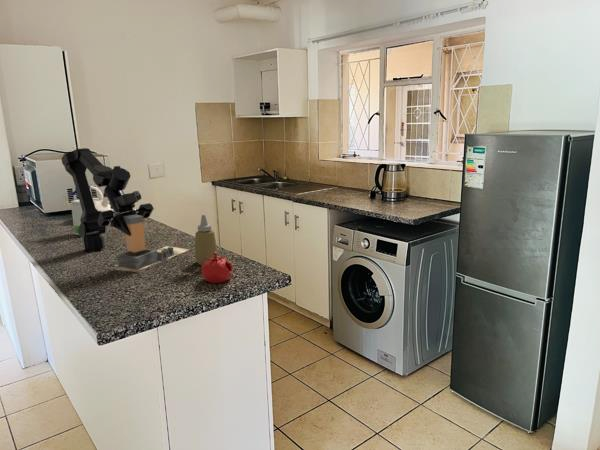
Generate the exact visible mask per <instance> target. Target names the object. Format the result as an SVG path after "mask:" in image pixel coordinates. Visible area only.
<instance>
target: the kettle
mask: <svg viewBox="0 0 600 450" xmlns="http://www.w3.org/2000/svg"><path fill="white" fill-rule="evenodd" d="M89 188H90V189H93V190H94V191H96V192H97V193H98V197H92V198H93V200H95V208H96V209H97V210H98V211H107V210H113V212H115V211H114V209H111V208H110V206H111V204H110V202H109V200H108V198H107V197H104V195H103V194H104V193H102V190H100V188H99V187H98V186H97V187H96V186H94V185H89ZM76 194H77V191H76V189H75V190H74V191H72V193H70V195H71V196H76Z"/></svg>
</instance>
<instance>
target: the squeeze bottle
mask: <svg viewBox="0 0 600 450" xmlns="http://www.w3.org/2000/svg"><path fill="white" fill-rule="evenodd" d="M194 237H195V238H194V239H195V240H194V258H195V260H196V262H197V264H198V265H200V268H202V265H203V264H204V263H205V262H206V261H208V260H210V259H205V258H212V259H213V258H214V256H213V255H214V252H217V257H219V252H218V251H219V250H218V247H217V240H216V239H217V238H216V234H215V231H214V230H212V224H210V223H208V220H207V216H206V214H201V218H200V224H198V225H197V231H196V232H195V235H194Z"/></svg>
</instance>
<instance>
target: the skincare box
mask: <svg viewBox="0 0 600 450" xmlns="http://www.w3.org/2000/svg"><path fill="white" fill-rule="evenodd" d="M93 202H94V205H95V200H93ZM70 206H71V215H72V224H73V232H74V233H73V234H74V235H76V236H77V235H79V233H78V229H79V227H80V224H81V221H80V218H81V215H82V212H83V211H82V208H81V204H80V201H79V199H75V200H70Z"/></svg>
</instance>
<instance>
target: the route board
mask: <svg viewBox="0 0 600 450" xmlns="http://www.w3.org/2000/svg"><path fill="white" fill-rule="evenodd" d="M190 250H191V249H190V248H183V247H176V246H168V245H167V246H164V247H161V248H158V249H150V248H146V250H143V251H139V252H135V253H134V252H131V251H128V250H126V251H123V252H121V253H118V254H116V262H117V264H115V265H114V269H116V270H121V271H129V272H134V273H139V274H141V273H144V272H146V271H148V270H150V268H149V267H152V266H154V265H157V264H159V263H161V262H163V261H167V260H169V259H171V258H173V257H175V256H178V255H181V254H183V253H186V252H189V251H190Z"/></svg>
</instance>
